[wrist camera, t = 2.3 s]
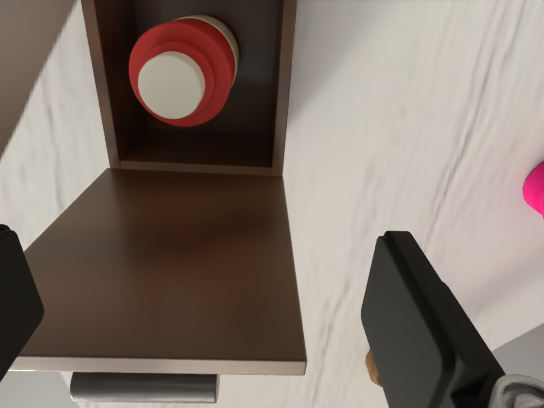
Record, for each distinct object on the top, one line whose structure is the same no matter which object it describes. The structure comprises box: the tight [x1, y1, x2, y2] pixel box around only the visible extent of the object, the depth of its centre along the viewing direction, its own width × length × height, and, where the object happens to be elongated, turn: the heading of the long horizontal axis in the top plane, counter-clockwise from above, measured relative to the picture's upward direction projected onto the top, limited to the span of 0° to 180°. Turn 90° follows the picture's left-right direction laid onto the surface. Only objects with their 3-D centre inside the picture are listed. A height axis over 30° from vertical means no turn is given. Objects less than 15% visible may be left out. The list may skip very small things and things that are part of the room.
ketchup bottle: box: [129, 14, 241, 127], centre depth 23 cm, size 6×6×14 cm
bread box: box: [81, 0, 297, 176], centre depth 26 cm, size 15×13×8 cm
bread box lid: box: [8, 168, 307, 403], centre depth 20 cm, size 16×13×5 cm
